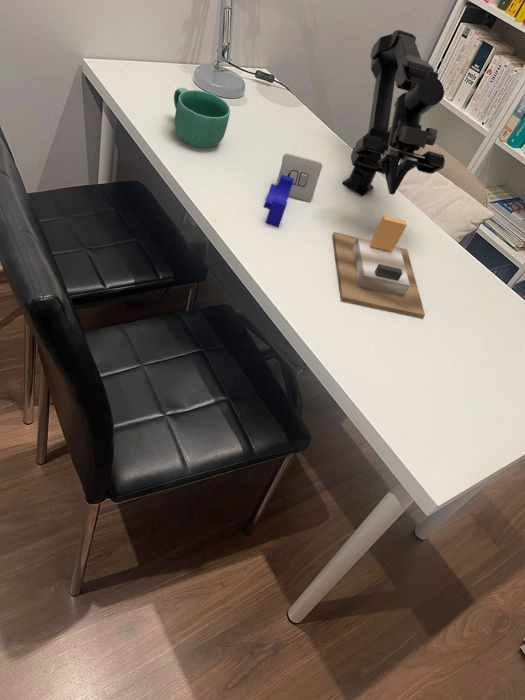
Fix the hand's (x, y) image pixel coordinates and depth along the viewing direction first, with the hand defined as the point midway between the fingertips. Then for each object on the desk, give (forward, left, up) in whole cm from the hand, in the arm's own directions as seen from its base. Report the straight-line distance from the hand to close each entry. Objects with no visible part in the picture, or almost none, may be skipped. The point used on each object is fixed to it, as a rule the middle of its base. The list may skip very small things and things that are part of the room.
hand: (391, 193), depth 123 cm
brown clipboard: (+10, +7, -13) cm, 18 cm away
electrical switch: (0, -22, -13) cm, 26 cm away
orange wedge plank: (+7, +5, -5) cm, 10 cm away
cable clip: (+10, -21, -13) cm, 27 cm away
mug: (+2, -51, -13) cm, 53 cm away
